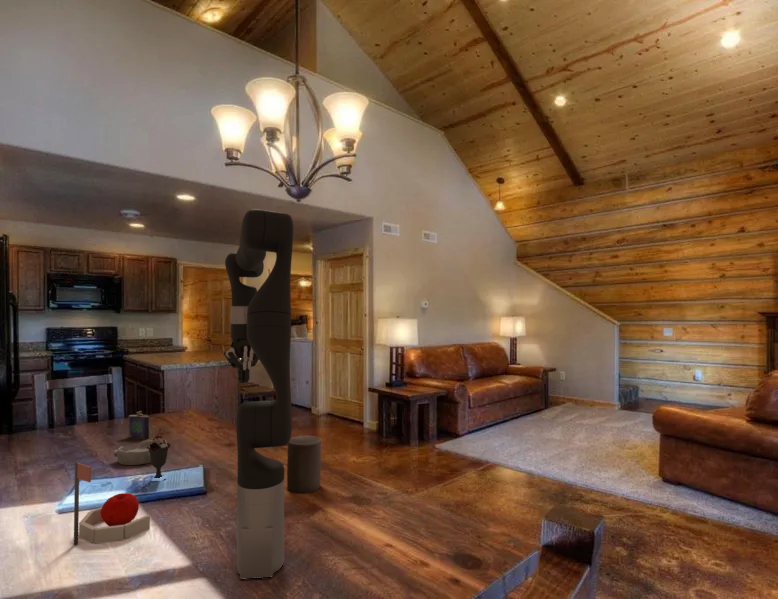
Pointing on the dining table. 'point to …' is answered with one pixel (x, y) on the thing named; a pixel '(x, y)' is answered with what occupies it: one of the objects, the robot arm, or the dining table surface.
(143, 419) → the flask
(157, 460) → the sundae
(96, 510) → the cup
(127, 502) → the apple
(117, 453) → the dish
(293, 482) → the pillar candle
